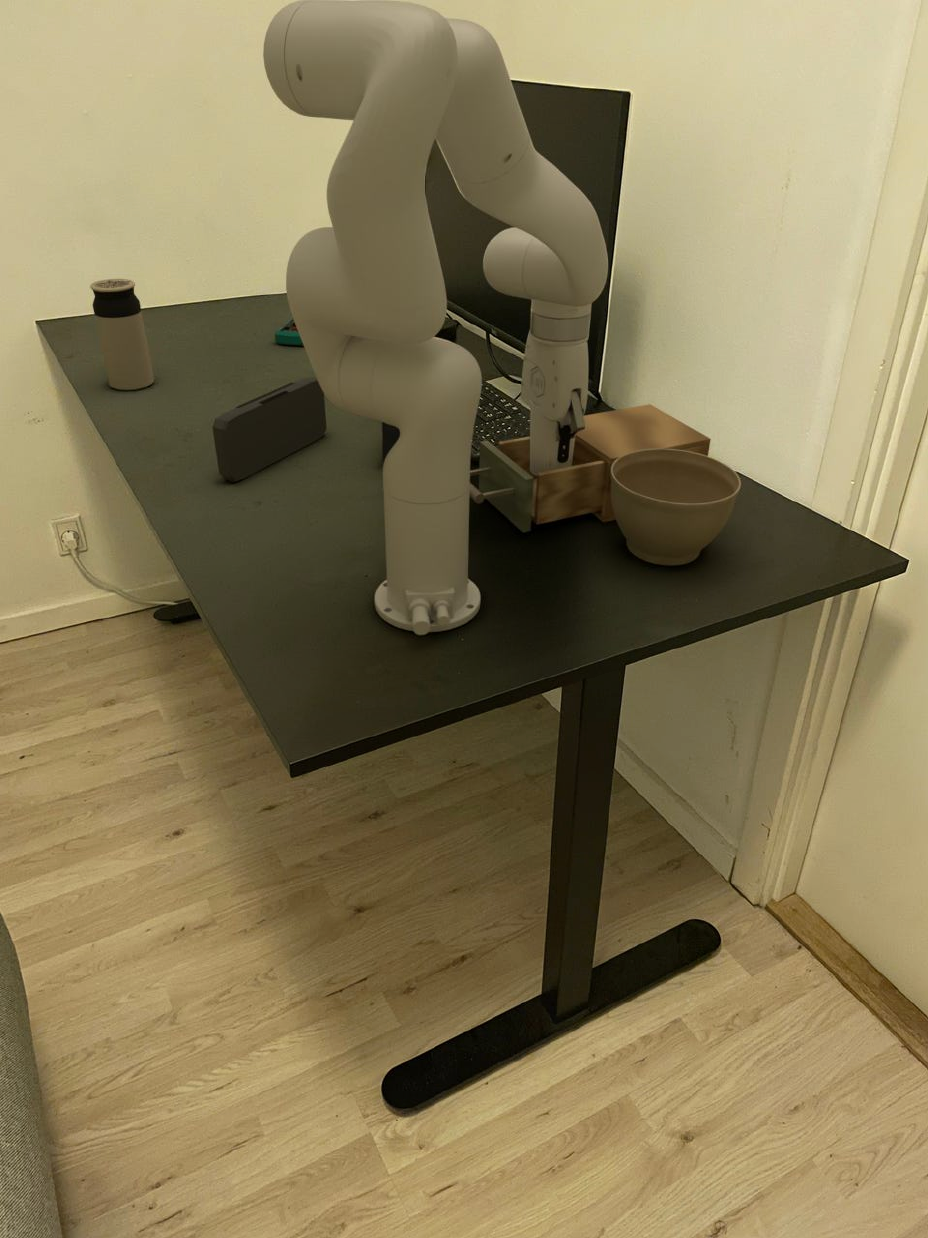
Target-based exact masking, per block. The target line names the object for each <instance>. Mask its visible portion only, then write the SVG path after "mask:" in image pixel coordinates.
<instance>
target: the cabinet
mask: <svg viewBox="0 0 928 1238" xmlns="http://www.w3.org/2000/svg"><path fill="white" fill-rule="evenodd" d="M583 418H584V422H585V429H583V430H581V431H579V432H577V433H576V436H575V440H577V441H578V442H580V443H581V444H583V445H584V446H585V447H587V448H588V449H590V450H591V451H593V452H594V453H595V454H597V455H598V456H600V457H601V458H603V459H604V460H606V461H607V468H606V477H605V487H604V496H603V505H602V510H601V511H596V512H592V513H591V514H592V515H594V516H595V517H596V518H597V519H598V520H600V521H601V522H602V523H608V522H611V521H616V518H615V515H614V512H613V508H612V502H611V466H612V464H613V462H614V461H615V460H616V459H617V458H619V457H621V456H622V455H625V454H627V453H631V452H634V451H639V450H645V449H677V450H684V451H690V452H695V453H699V454H703V455H706V456H709V453H710V452H709V451H710V447H711V440H712V438H710V437H708V436H707V435H705V434H703V433H702V432H700V431H698V430H697V429H694V428H693V427H691V426H690V425H687V424H686V423H684V422H683V421H680V420H679V419H677V418H675V417H674V416H671V415H670V414H668V413H666V412H664V411H663V410H661V409H660V408H658V407H656V406H654V405H652V404H651V403H649V404H642V405H638V406H632V407H626V408H621V409H615V410H609V411H603V412H597V413H592V414H586V415H585V414H584V415H583Z"/></svg>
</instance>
